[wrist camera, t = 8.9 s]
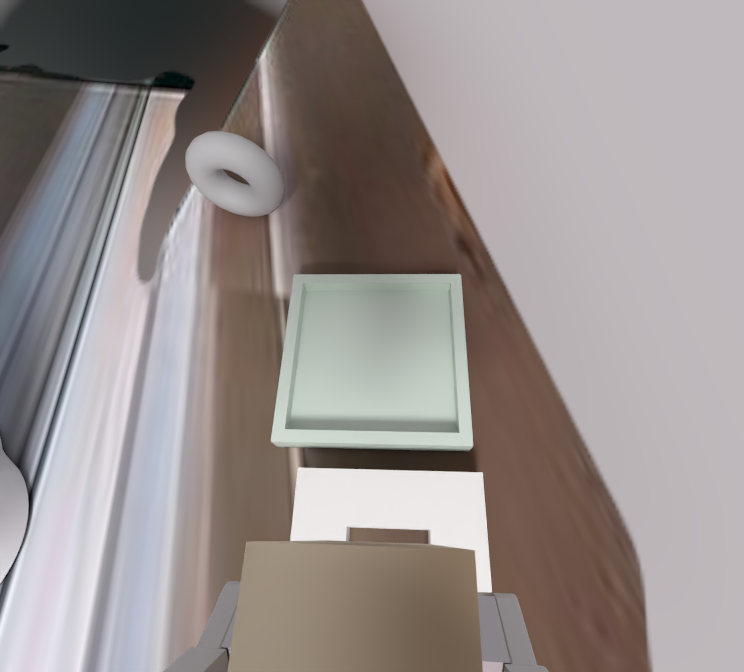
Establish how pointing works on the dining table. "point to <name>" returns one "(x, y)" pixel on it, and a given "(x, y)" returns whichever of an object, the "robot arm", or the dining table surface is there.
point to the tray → (374, 364)
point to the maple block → (356, 608)
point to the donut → (241, 158)
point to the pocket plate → (395, 507)
